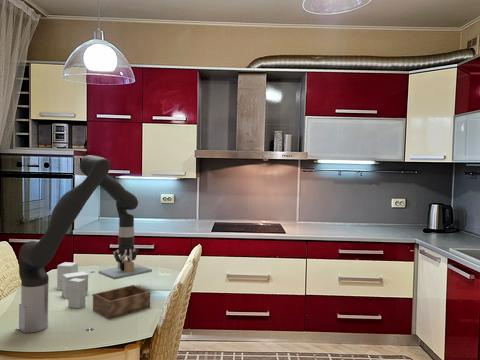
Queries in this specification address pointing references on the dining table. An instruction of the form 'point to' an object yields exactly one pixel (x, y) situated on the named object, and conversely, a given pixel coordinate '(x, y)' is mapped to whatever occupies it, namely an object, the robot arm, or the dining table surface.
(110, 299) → the box
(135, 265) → the lid
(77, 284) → the skincare box
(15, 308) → the dining table surface
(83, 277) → the skincare box
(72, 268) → the supplement box
